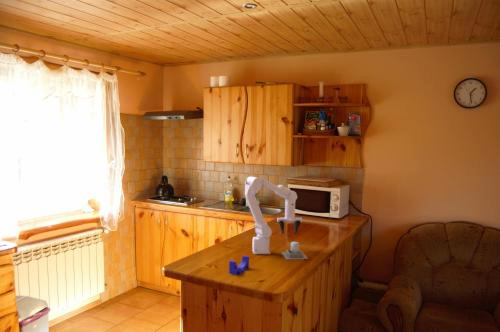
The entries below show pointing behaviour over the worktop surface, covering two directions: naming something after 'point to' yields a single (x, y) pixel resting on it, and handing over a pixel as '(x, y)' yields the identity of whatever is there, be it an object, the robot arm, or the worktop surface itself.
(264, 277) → the worktop surface
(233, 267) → the cable clip
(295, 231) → the robot arm
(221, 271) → the worktop surface
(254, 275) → the worktop surface
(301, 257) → the grey square tray
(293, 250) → the cylinder
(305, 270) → the worktop surface
